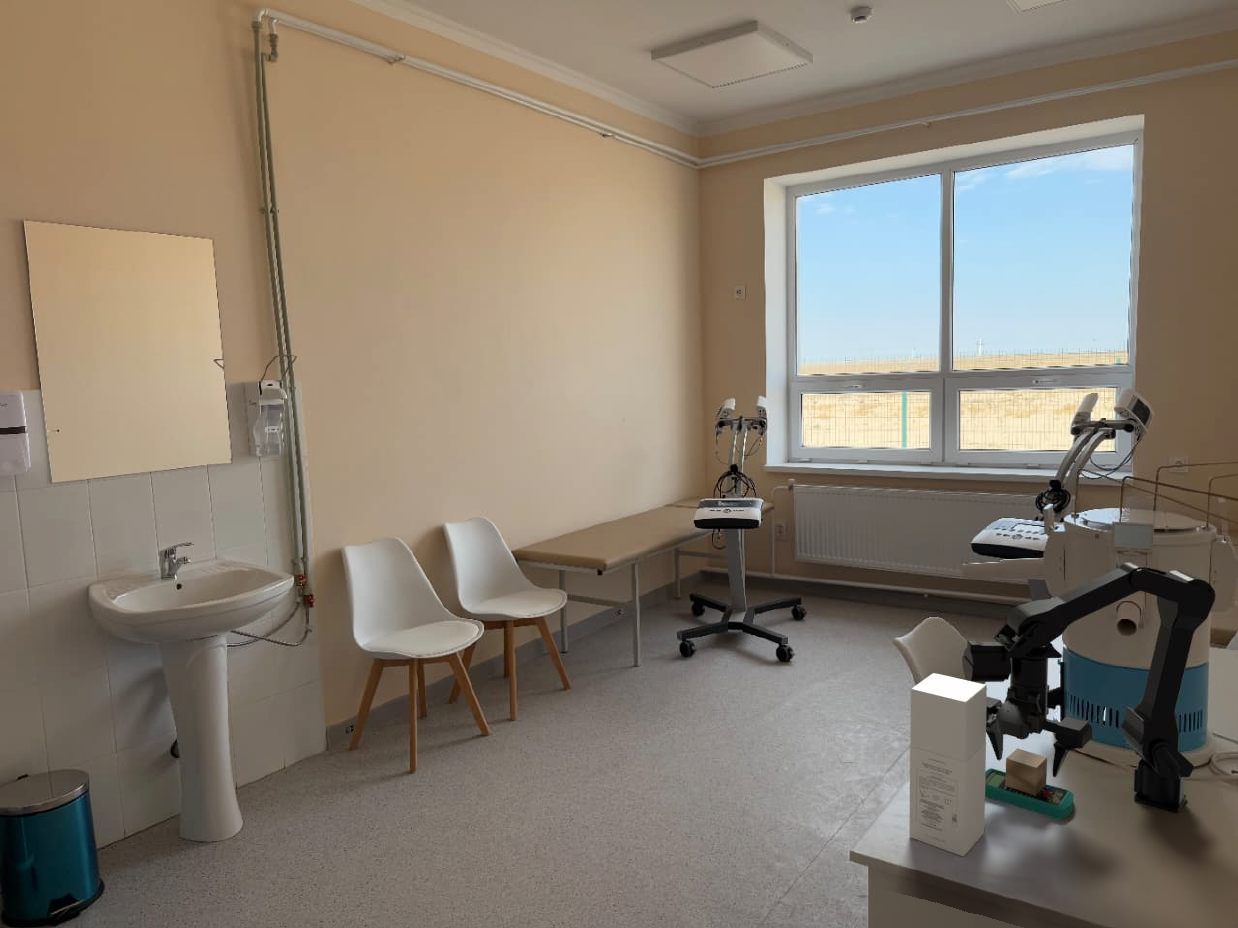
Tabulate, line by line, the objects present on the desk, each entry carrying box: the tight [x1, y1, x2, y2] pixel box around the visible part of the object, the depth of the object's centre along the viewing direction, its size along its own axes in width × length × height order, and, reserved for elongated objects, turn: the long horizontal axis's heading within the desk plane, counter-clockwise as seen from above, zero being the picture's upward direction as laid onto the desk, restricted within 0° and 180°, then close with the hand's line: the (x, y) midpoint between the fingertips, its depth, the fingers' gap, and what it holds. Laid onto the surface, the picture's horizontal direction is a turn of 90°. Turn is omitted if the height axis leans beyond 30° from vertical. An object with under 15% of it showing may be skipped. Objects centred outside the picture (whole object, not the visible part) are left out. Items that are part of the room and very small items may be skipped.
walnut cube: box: [1005, 747, 1048, 796], centre depth 148 cm, size 5×5×5 cm
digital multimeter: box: [985, 767, 1074, 821], centre depth 149 cm, size 7×15×3 cm, turn 48°
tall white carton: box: [909, 672, 988, 857], centre depth 137 cm, size 9×9×25 cm
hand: (1026, 767), depth 148 cm, fingers open, 9 cm apart
